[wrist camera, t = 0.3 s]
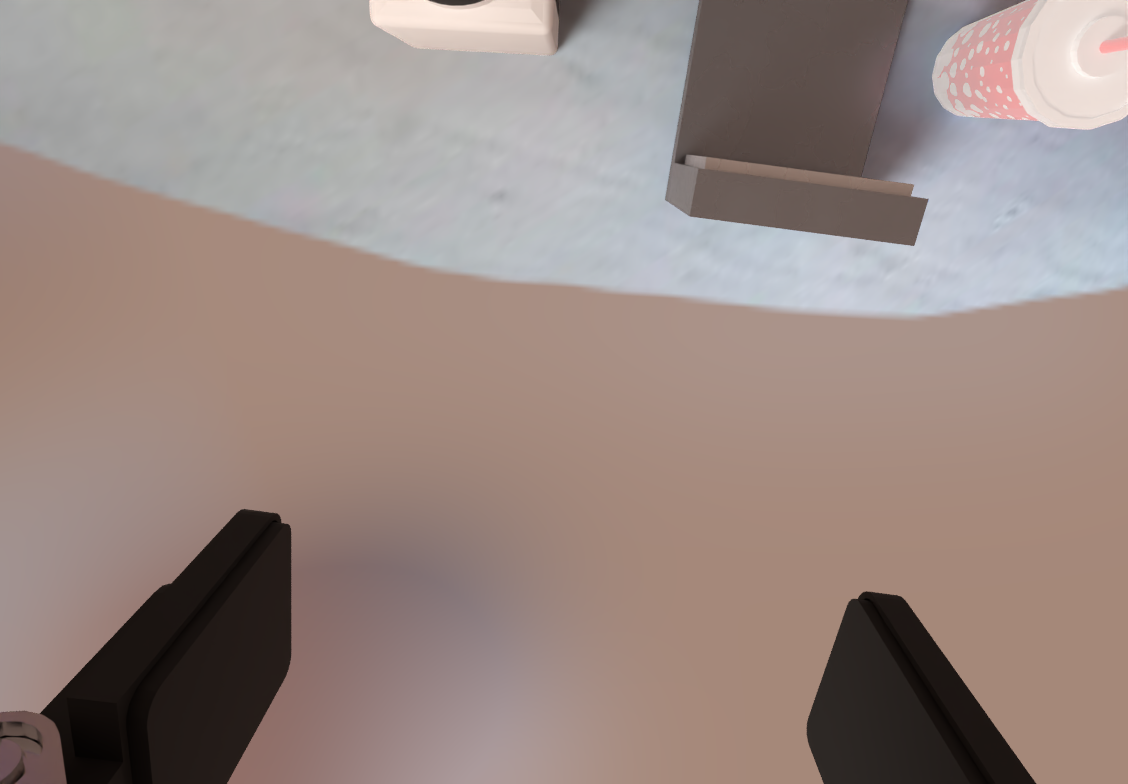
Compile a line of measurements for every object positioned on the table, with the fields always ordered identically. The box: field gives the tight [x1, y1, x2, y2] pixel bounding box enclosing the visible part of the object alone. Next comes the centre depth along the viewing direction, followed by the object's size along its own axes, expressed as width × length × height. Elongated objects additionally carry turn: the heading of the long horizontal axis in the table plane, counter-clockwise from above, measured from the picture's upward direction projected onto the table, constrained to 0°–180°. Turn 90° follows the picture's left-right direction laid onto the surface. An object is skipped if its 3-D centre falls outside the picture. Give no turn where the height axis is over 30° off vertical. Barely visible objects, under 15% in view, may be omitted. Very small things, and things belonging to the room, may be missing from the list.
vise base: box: [665, 0, 928, 246], centre depth 31 cm, size 18×10×9 cm, turn 173°
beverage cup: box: [932, 0, 1128, 130], centre depth 29 cm, size 6×6×14 cm
